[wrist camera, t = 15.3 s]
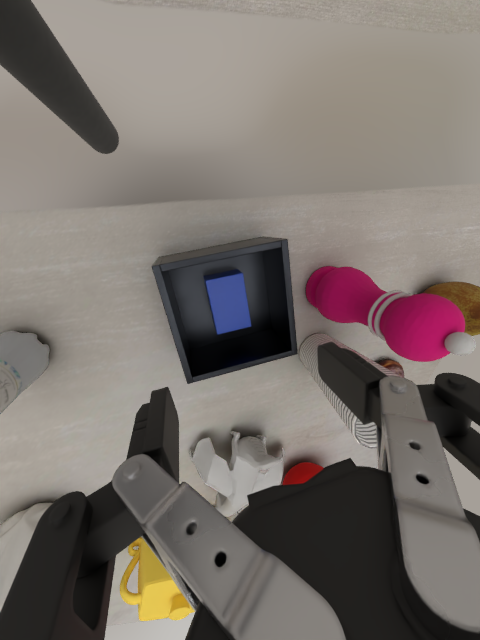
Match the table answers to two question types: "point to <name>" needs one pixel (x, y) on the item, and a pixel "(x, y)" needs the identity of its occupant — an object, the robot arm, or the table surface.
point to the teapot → (153, 587)
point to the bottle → (19, 364)
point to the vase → (16, 544)
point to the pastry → (392, 366)
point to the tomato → (301, 473)
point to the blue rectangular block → (228, 301)
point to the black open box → (262, 296)
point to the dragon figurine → (237, 471)
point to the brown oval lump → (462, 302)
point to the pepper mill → (391, 314)
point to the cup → (310, 360)
